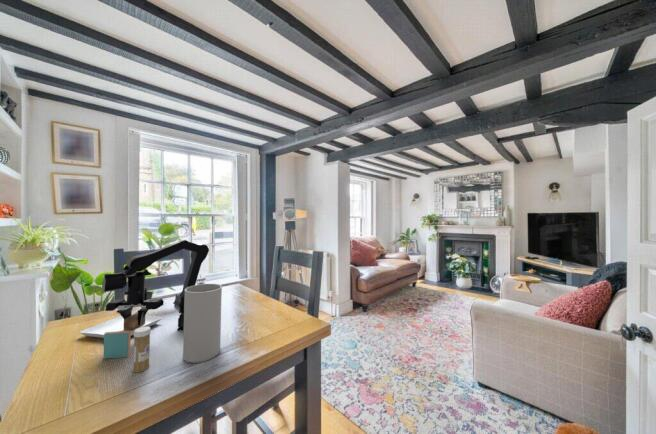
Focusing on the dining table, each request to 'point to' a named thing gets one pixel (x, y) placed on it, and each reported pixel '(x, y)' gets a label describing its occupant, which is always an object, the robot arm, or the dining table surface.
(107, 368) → the dining table surface
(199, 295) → the cylinder vase
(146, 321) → the salad plate
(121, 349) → the ceramic tile
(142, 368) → the sprinkles bottle
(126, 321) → the tall cardboard box
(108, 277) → the robot arm
